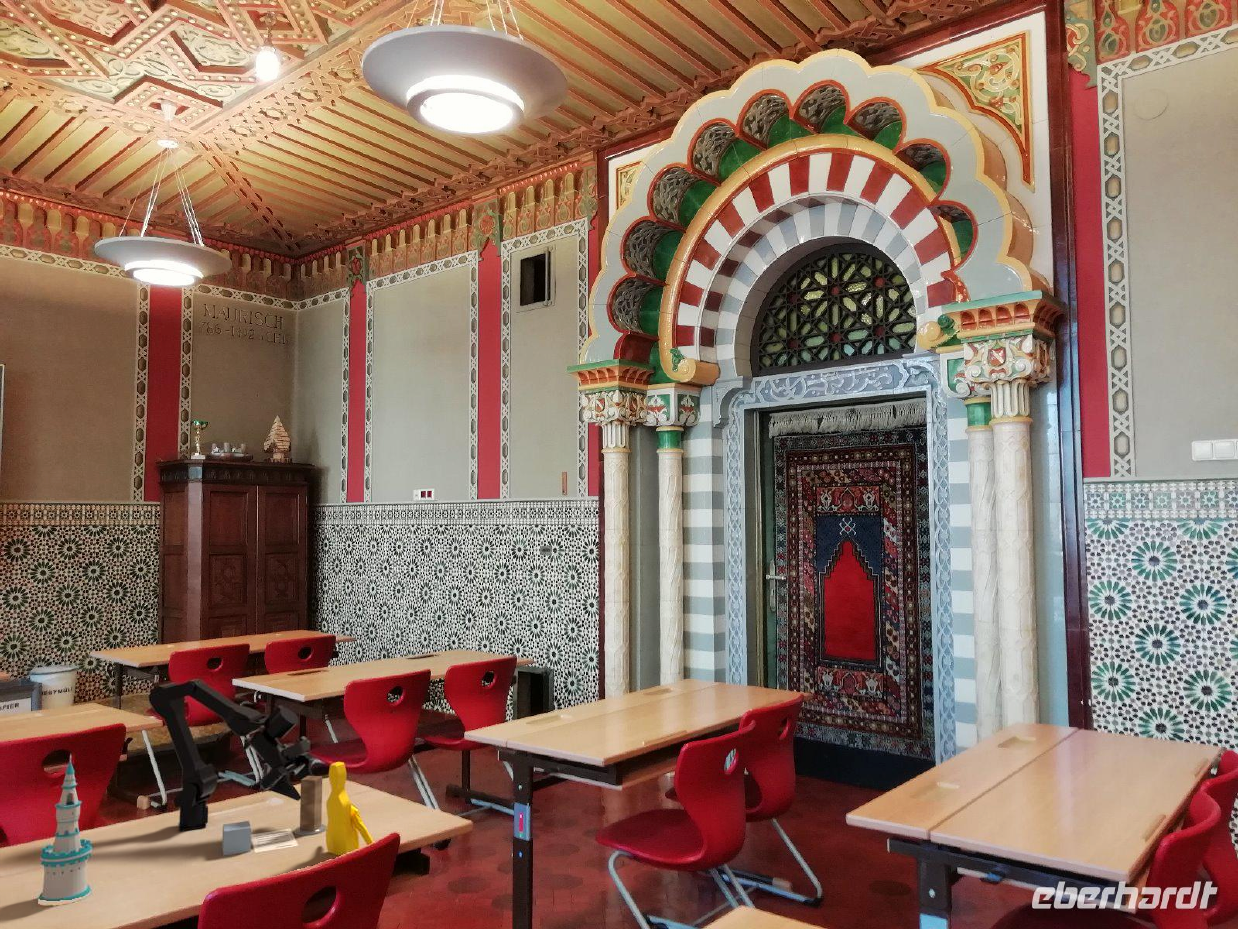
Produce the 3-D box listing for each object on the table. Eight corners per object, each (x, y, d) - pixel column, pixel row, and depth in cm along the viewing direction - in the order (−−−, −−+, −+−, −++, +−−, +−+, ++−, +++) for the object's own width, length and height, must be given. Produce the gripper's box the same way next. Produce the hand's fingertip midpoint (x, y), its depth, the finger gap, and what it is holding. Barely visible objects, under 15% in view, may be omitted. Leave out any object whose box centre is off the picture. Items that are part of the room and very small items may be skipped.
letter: (255, 853, 216) (255, 852, 216) (249, 835, 229) (249, 834, 229) (298, 846, 221) (298, 845, 221) (290, 829, 234) (290, 828, 234)
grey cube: (223, 857, 214) (224, 831, 215) (222, 849, 219) (222, 824, 220) (250, 852, 217) (250, 827, 217) (248, 845, 222) (248, 821, 223)
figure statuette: (380, 855, 214) (381, 762, 215) (353, 866, 207) (355, 769, 209) (333, 842, 224) (334, 753, 226) (306, 851, 217) (308, 759, 219)
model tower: (86, 884, 198) (91, 747, 200) (95, 897, 190) (101, 754, 193) (33, 896, 191) (39, 754, 194) (41, 910, 183) (47, 762, 186)
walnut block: (299, 831, 231) (300, 780, 232) (307, 826, 235) (308, 775, 236) (314, 831, 230) (315, 780, 231) (321, 826, 234) (322, 776, 235)
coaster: (296, 838, 227) (296, 835, 227) (292, 829, 234) (292, 826, 234) (328, 833, 231) (328, 830, 231) (323, 824, 238) (323, 822, 238)
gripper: (273, 737, 226) (312, 782, 224) (308, 722, 245) (344, 764, 242) (243, 767, 226) (282, 813, 224) (280, 750, 245) (316, 792, 243)
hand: (308, 794), depth 233 cm, fingers open, 9 cm apart
